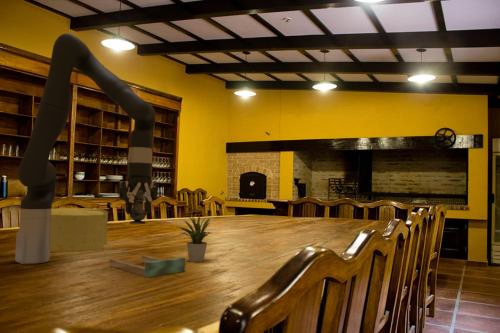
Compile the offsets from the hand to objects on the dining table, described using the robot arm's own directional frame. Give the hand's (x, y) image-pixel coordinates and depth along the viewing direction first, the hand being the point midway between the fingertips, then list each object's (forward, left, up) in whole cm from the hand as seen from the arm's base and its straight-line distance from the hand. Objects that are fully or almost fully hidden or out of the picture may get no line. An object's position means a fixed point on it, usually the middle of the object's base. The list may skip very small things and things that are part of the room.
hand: (138, 213), depth 137 cm
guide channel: (0, -5, -17) cm, 18 cm away
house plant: (+22, -4, -17) cm, 28 cm away
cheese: (+2, +49, -17) cm, 51 cm away
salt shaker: (0, 0, -3) cm, 3 cm away
